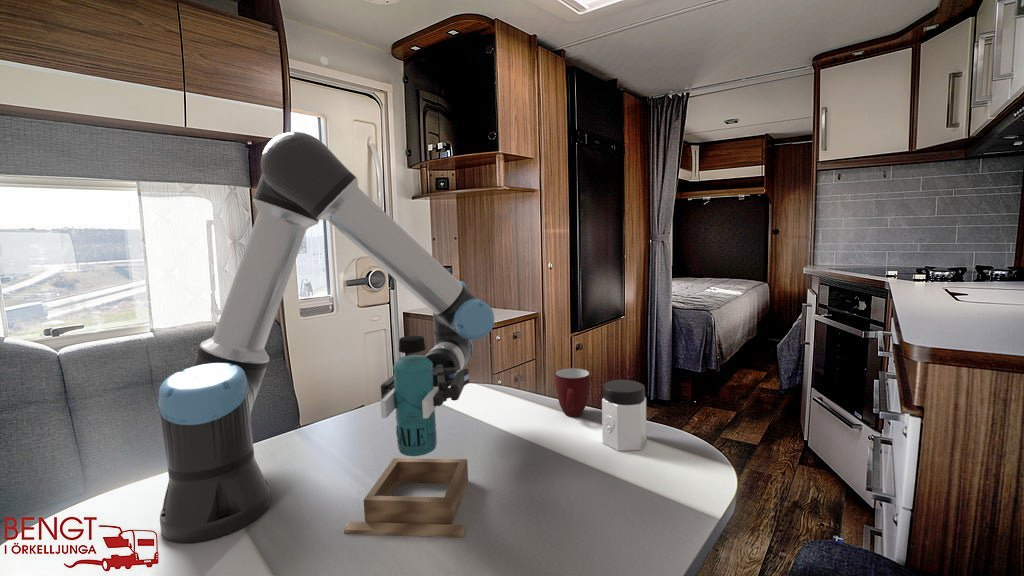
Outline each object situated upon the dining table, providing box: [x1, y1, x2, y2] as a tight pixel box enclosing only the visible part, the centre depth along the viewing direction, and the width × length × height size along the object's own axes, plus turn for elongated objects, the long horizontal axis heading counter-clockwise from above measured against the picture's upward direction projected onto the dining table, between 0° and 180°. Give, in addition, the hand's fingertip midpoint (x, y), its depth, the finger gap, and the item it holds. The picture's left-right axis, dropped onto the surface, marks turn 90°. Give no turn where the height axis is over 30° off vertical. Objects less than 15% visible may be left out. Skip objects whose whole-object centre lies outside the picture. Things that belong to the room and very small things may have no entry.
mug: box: [554, 367, 591, 418], centre depth 113 cm, size 10×8×10 cm
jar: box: [601, 379, 647, 452], centre depth 98 cm, size 9×8×12 cm
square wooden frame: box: [343, 457, 469, 538], centre depth 78 cm, size 18×16×4 cm
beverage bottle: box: [392, 335, 438, 457], centre depth 77 cm, size 6×7×20 cm
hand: (404, 409), depth 72 cm, fingers closed on beverage bottle, 6 cm apart
